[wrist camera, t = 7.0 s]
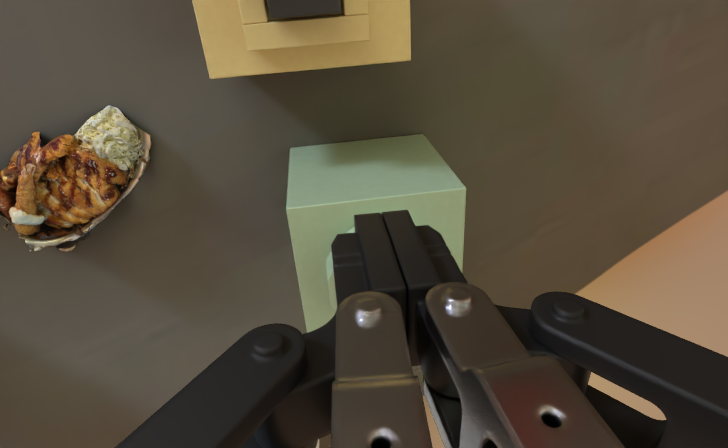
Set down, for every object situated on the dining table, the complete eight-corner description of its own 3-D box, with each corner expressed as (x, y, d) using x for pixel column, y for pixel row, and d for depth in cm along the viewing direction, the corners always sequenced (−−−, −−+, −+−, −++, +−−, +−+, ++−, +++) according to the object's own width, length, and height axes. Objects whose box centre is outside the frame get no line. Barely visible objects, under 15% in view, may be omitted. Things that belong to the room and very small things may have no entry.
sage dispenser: (305, 251, 37) (307, 357, 27) (289, 147, 33) (284, 226, 22) (423, 236, 38) (470, 334, 27) (423, 133, 33) (479, 203, 23)
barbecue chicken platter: (172, 150, 32) (158, 169, 29) (72, 253, 35) (49, 280, 31) (80, 74, 29) (53, 86, 26) (-22, 194, 32) (-57, 218, 28)
